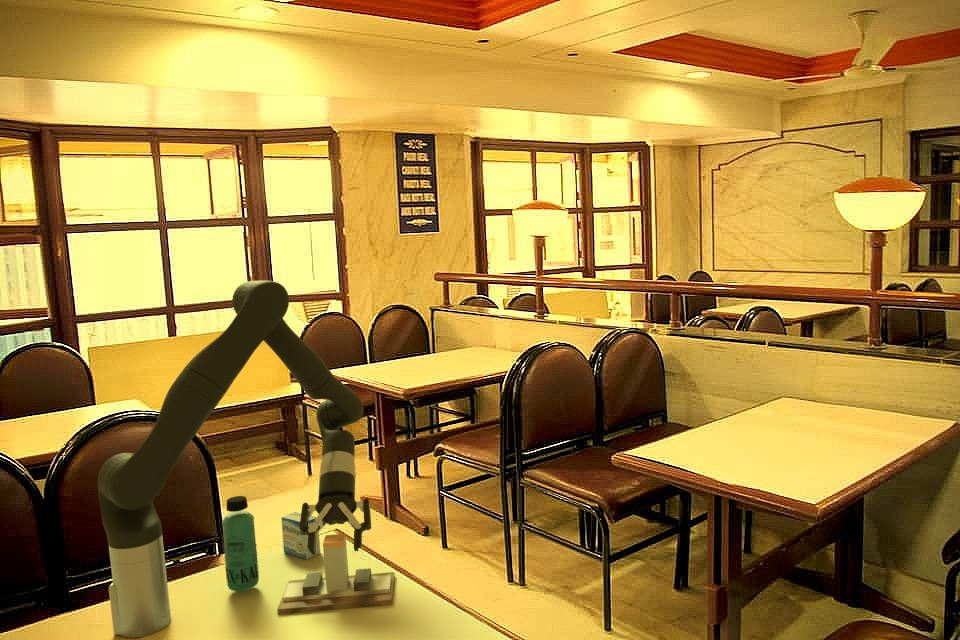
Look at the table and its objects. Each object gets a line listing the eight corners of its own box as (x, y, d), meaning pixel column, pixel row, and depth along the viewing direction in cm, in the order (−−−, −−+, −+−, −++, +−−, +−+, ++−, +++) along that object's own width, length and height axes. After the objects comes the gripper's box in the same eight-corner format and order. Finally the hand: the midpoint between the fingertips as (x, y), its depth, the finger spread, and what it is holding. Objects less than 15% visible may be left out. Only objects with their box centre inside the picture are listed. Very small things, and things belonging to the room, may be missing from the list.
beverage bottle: (227, 587, 154) (219, 495, 152) (260, 581, 156) (252, 490, 154) (227, 601, 148) (218, 506, 146) (261, 594, 150) (253, 500, 148)
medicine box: (283, 553, 170) (280, 517, 169) (298, 545, 174) (295, 510, 173) (306, 560, 165) (303, 523, 164) (321, 552, 169) (318, 516, 168)
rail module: (326, 591, 146) (322, 543, 145) (329, 582, 150) (325, 535, 149) (346, 589, 146) (343, 541, 145) (349, 580, 150) (345, 533, 149)
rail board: (277, 614, 142) (276, 596, 141) (289, 585, 154) (287, 568, 153) (391, 604, 143) (390, 587, 143) (394, 576, 155) (393, 560, 155)
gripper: (300, 471, 153) (295, 547, 143) (369, 466, 154) (368, 541, 144) (306, 487, 159) (302, 561, 149) (372, 483, 160) (372, 555, 150)
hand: (334, 551), depth 146 cm, fingers open, 8 cm apart
